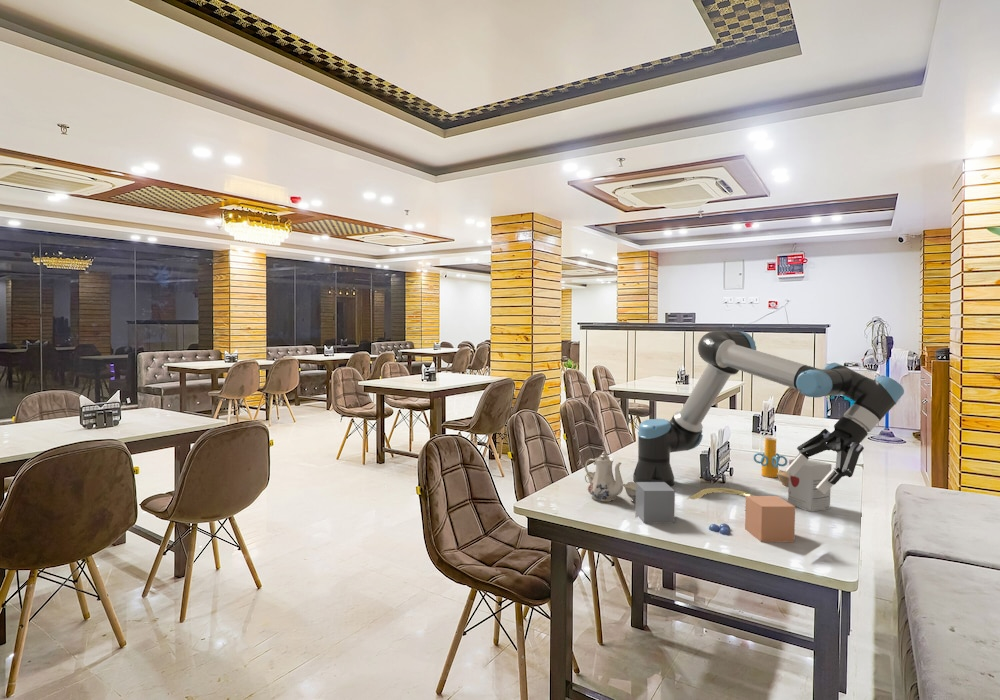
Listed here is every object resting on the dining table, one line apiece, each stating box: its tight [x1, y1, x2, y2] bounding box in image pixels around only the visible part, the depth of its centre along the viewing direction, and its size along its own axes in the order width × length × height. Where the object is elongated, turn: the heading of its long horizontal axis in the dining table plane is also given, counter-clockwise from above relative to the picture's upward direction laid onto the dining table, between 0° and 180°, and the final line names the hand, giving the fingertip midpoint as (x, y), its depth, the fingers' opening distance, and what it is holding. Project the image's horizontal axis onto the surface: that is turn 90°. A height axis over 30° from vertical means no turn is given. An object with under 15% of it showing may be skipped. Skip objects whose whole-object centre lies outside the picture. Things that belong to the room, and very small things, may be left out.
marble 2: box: [718, 523, 731, 531], centre depth 152 cm, size 3×3×3 cm
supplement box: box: [787, 457, 833, 513], centre depth 176 cm, size 9×9×15 cm
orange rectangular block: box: [744, 495, 796, 543], centre depth 147 cm, size 9×9×11 cm
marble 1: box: [708, 523, 720, 533], centre depth 151 cm, size 3×3×3 cm
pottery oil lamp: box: [777, 469, 789, 489], centre depth 193 cm, size 9×12×7 cm
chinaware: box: [584, 450, 636, 502], centre depth 186 cm, size 28×17×17 cm, turn 42°
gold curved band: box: [685, 487, 755, 501], centre depth 177 cm, size 19×35×2 cm, turn 139°
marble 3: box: [718, 527, 732, 536], centre depth 149 cm, size 3×3×3 cm
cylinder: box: [753, 437, 788, 479], centre depth 213 cm, size 12×10×15 cm
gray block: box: [634, 482, 676, 524], centre depth 161 cm, size 9×9×11 cm
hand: (803, 481), depth 150 cm, fingers open, 13 cm apart
